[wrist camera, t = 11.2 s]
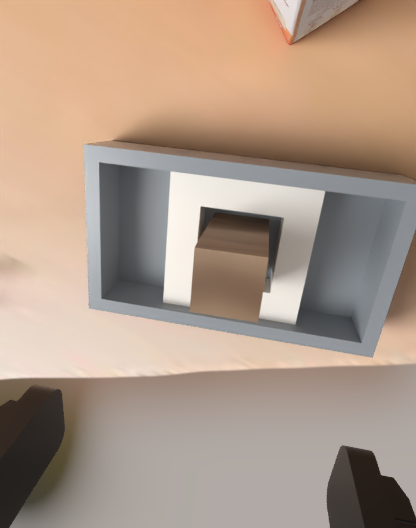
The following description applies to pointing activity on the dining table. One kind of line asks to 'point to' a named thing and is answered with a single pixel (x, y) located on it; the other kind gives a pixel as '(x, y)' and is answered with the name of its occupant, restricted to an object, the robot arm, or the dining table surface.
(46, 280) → the dining table surface
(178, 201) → the walled box
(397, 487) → the robot arm
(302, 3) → the cracker box
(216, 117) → the dining table surface
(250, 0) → the dining table surface
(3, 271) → the dining table surface
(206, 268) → the peg
